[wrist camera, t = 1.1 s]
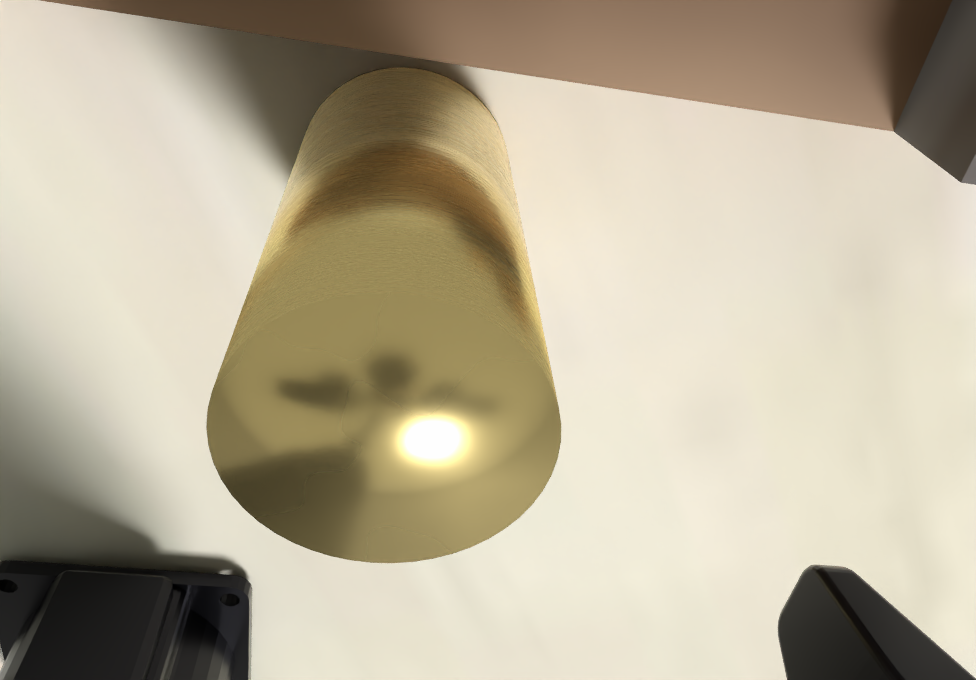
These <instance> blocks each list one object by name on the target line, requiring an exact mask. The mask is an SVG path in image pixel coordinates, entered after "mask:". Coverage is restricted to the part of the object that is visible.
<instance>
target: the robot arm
mask: <svg viewBox="0 0 976 680" xmlns="http://www.w3.org/2000/svg"><path fill="white" fill-rule="evenodd" d="M251 630H252V587H251V584H250V583H249V582H248V581H247V580H246V579H244V578H242V577H240V576H235V575H224V574H208V573H193V572H178V571H163V570H148V569H133V568H118V567H103V566H87V565H72V564H57V563H42V562H27V561H12V560H10V561H2V562H0V644H1V648H2V652H3V656H4V660H5V662H4V664H3V666H2V668H1V671H0V680H251ZM778 637H779V643H780V647H781V652H782V657H783V662H784V667H785V672H786V677H787V680H976V678H974V677H973V676H972V675H971V674H970V673H969V672H968V671H967V670H965V669H964V668H963V667H962V666H961V665H960V664H959V663H957V662H956V661H955V660H954V659H953V658H952V657H951V656H949V655H948V654H947V653H946V652H945V651H944V650H943V649H941V648H940V647H939V646H938V645H937V644H936V643H935V642H934V641H932V640H931V639H930V638H929V637H928V636H927V635H926V634H924V633H923V632H922V631H921V630H920V629H919V628H918V627H916V626H915V625H914V624H913V623H912V622H911V621H910V620H908V619H907V618H906V617H905V616H904V615H903V614H902V613H901V612H899V611H898V610H897V609H896V608H895V607H894V606H893V605H891V604H890V603H889V602H888V601H887V600H886V599H885V598H883V597H882V596H881V595H880V594H879V593H878V592H877V591H875V590H874V589H873V588H872V587H871V586H870V585H869V584H868V583H866V582H865V581H864V580H863V579H862V578H861V577H860V576H858V575H857V574H856V573H855V572H853V571H852V570H850V569H848V568H845V567H840V566H827V565H811V566H809V567H808V568H807V569H805V570H804V571H803V573H802V575H801V576H800V578H799V580H798V582H797V584H796V586H795V587H794V589H793V591H792V593H791V595H790V597H789V598H788V600H787V602H786V604H785V606H784V608H783V609H782V611H781V614H780V617H779V621H778Z"/></svg>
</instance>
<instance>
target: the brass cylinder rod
mask: <svg viewBox="0 0 976 680" xmlns="http://www.w3.org/2000/svg"><path fill="white" fill-rule="evenodd" d="M207 436H208V445H209V449H210V452H211V456H212V459H213V463H214V465H215V467H216V469H217V471H218V473H219V476H220V478H221V480H222V481H223V483H224V484H225V486H226V487H227V489H228V490H229V492H230V493H231V495H232V496H233V497H234V498H235V499H236V500H237V501H238V503H239V504H240V505H241V506H242V507H243V508H244V509H245V510H246V511H247V512H248V513H249V514H251V515H252V516H253V517H254V518H255V519H256V520H257V521H259V522H260V523H261V524H263V525H264V526H266V527H267V528H269V529H270V530H272V531H273V532H274V533H276V534H278V535H280V536H282V537H284V538H286V539H287V540H289V541H291V542H293V543H295V544H298V545H300V546H303V547H305V548H308V549H310V550H313V551H316V552H319V553H323V554H326V555H329V556H333V557H338V558H343V559H348V560H354V561H363V562H371V563H400V562H414V561H420V560H427V559H433V558H437V557H441V556H445V555H449V554H453V553H456V552H458V551H461V550H464V549H467V548H470V547H472V546H474V545H476V544H478V543H481V542H483V541H485V540H487V539H489V538H491V537H492V536H494V535H495V534H497V533H499V532H500V531H502V530H504V529H505V528H506V527H508V526H509V525H510V524H511V523H513V522H514V521H515V520H517V519H518V518H519V517H520V516H521V515H522V514H523V513H524V512H525V511H526V510H527V509H528V508H529V507H530V506H531V505H532V504H533V503H534V501H535V500H536V499H537V497H538V496H539V495H540V494H541V492H542V491H543V489H544V488H545V486H546V484H547V482H548V480H549V479H550V477H551V475H552V472H553V469H554V467H555V464H556V461H557V458H558V453H559V448H560V443H561V420H560V414H559V407H558V402H557V397H556V392H555V387H554V382H553V377H552V372H551V367H550V362H549V357H548V352H547V347H546V343H545V338H544V333H543V328H542V323H541V318H540V313H539V308H538V303H537V298H536V293H535V288H534V283H533V278H532V273H531V268H530V263H529V258H528V253H527V248H526V244H525V239H524V234H523V229H522V224H521V219H520V214H519V209H518V204H517V199H516V194H515V189H514V184H513V179H512V174H511V169H510V164H509V159H508V154H507V149H506V145H505V142H504V139H503V136H502V133H501V131H500V129H499V127H498V124H497V122H496V121H495V119H494V118H493V116H492V114H491V113H490V111H489V110H488V109H487V108H486V107H485V105H484V104H483V103H482V102H481V101H480V100H479V99H478V98H477V97H476V96H475V95H474V94H473V93H472V92H470V91H469V90H468V89H466V88H465V87H463V86H462V85H460V84H459V83H457V82H455V81H453V80H451V79H449V78H448V77H446V76H443V75H440V74H437V73H434V72H431V71H427V70H422V69H417V68H406V67H400V68H386V69H381V70H375V71H372V72H369V73H366V74H363V75H360V76H358V77H356V78H354V79H352V80H350V81H348V82H347V83H345V84H344V85H342V86H341V87H339V88H338V89H336V90H335V91H334V92H333V93H332V94H331V95H330V96H329V97H327V98H326V100H325V101H324V102H323V103H322V104H321V106H320V107H319V108H318V110H317V111H316V113H315V114H314V116H313V118H312V119H311V121H310V124H309V126H308V128H307V131H306V133H305V136H304V139H303V142H302V144H301V147H300V150H299V153H298V155H297V158H296V161H295V164H294V166H293V169H292V172H291V175H290V178H289V180H288V183H287V186H286V189H285V191H284V194H283V197H282V200H281V202H280V205H279V208H278V211H277V213H276V216H275V219H274V222H273V225H272V227H271V230H270V233H269V236H268V238H267V241H266V244H265V247H264V249H263V252H262V255H261V258H260V260H259V263H258V266H257V269H256V272H255V274H254V277H253V280H252V283H251V285H250V288H249V291H248V294H247V296H246V299H245V302H244V305H243V307H242V310H241V313H240V316H239V318H238V321H237V324H236V327H235V330H234V332H233V335H232V338H231V341H230V343H229V346H228V349H227V352H226V354H225V357H224V360H223V363H222V365H221V368H220V371H219V374H218V377H217V379H216V382H215V385H214V388H213V390H212V394H211V398H210V402H209V406H208V412H207Z"/></svg>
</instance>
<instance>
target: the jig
mask: <svg viewBox="0 0 976 680" xmlns="http://www.w3.org/2000/svg"><path fill="white" fill-rule="evenodd" d="M41 1H47V2H54V3H60V4H67V5H73V6H80V7H86V8H93V9H100V10H106V11H113V12H119V13H126V14H132V15H139V16H145V17H152V18H158V19H165V20H171V21H178V22H184V23H191V24H197V25H204V26H210V27H217V28H223V29H230V30H236V31H243V32H249V33H256V34H262V35H269V36H275V37H282V38H288V39H295V40H301V41H308V42H315V43H321V44H328V45H334V46H341V47H347V48H354V49H360V50H367V51H373V52H380V53H386V54H393V55H399V56H406V57H412V58H419V59H425V60H432V61H438V62H445V63H451V64H458V65H464V66H471V67H477V68H484V69H490V70H497V71H503V72H510V73H516V74H523V75H530V76H536V77H543V78H549V79H556V80H562V81H569V82H575V83H582V84H588V85H595V86H601V87H608V88H614V89H621V90H627V91H634V92H640V93H647V94H653V95H660V96H666V97H673V98H679V99H686V100H692V101H699V102H705V103H712V104H718V105H725V106H731V107H738V108H745V109H751V110H758V111H764V112H771V113H777V114H784V115H790V116H797V117H803V118H810V119H816V120H823V121H829V122H836V123H842V124H849V125H855V126H862V127H868V128H875V129H881V130H888V131H894V132H895V133H896V134H898V135H899V136H900V137H902V138H903V139H904V140H906V141H907V142H908V143H910V144H911V145H912V146H914V147H915V148H916V149H918V150H919V151H920V152H922V153H923V154H924V155H925V156H927V157H928V158H929V159H931V160H932V161H933V162H935V163H936V164H937V165H939V166H940V167H941V168H943V169H944V170H945V171H947V172H948V173H949V174H951V175H952V176H953V177H955V178H956V179H957V180H958V181H960V182H961V183H968V184H975V185H976V0H41Z"/></svg>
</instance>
